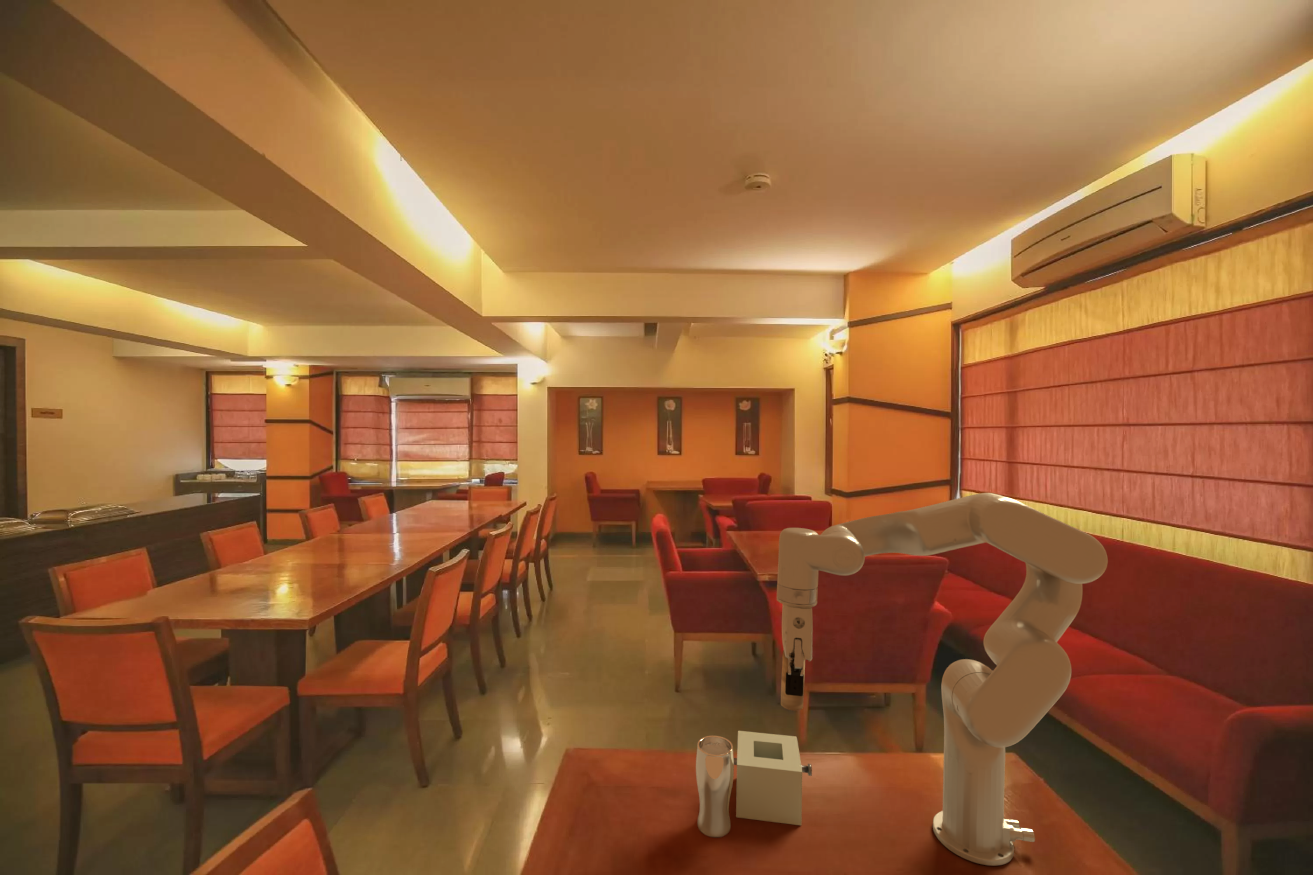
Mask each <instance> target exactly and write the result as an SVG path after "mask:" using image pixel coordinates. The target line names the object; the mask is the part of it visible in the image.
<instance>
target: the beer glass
mask: <svg viewBox="0 0 1313 875" xmlns="http://www.w3.org/2000/svg"><path fill="white" fill-rule="evenodd" d="M696 745H697V746H696V747H697V749H696V756H695V757H696V758H695V776H696V778H695V779H696V784H697V791H698V798H699V813H698V816H697V823H696V824H697V827H698V830H699V831H700V832H701V833H702V834H704V835H705V836H707V837H710V838H722V837H724V836H727V835H728V833H729V832H730V831H731V819H730V813H729V811H730V810H729V806H730V799H731V795H732V794H731V793H732V790H733V789H732V788H733V784H734V783H733V782H734V776H735V775H734V774H735V772H734V769H735V765H734V759H733V758H734V746H733V745H734V744H733V743H732V742H731V741H730V740H729V739H728V738H727V737H724V736H720V735H707V736H703V737H701V738H700V739H699V740H698V741H697V744H696Z"/></svg>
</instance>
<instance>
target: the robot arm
mask: <svg viewBox="0 0 1313 875" xmlns="http://www.w3.org/2000/svg"><path fill="white" fill-rule="evenodd" d="M778 538H779V539H778V560H777V561H778V562H777V563H778V564H777V584H776V601H777V602H778V603H780V604H782V605H781V606H782V609H781V610H782V611H781V612H782V613H781V641H782V643H781V644H782V648H783V650H784V653H785V657H786V658H788V672H786V685H785V693H786V694H787V695H793V696H803V684H804V685H805V675H804V674H803V664H804V655H805V661H807V660H808V662H811V661H812V660H813V631H814V630H813V628H814V626H813V607H815V606H817V604H818V587H819V586H818V585H819V571H821V572H825V573H829V574H831V575H832V574H833V575H837V576H851V575H854V574H856V573H857V572H859V571H860V570H861V569H862V568H863V565H864V564H865V558H866V557H868V556H873V555H879V554H880V555H881V554H889V553H890V554H892V553H894V554H895V553H897V554H898V553H899V554H905V555H910V556H919V557H922V556H924V557H925V556H932V555H936V554H941V553H945V552H949V551H950V552H951V551H955V550H957V549H962V548H967V547H971V546H976V545H980V544H985V543H986V544H989V545H990V546H992V547H995V548H996V549H998V550H1000V551H1002V552H1003V553H1006V554H1008V555H1010V556H1012V557H1013V558H1015V559H1017V560H1019V561H1021V562H1022V563H1023V562H1024V563H1025V571H1026V573H1025V574H1026V575H1025V579H1024V581H1023V584H1022V587H1021V588H1020V590H1019V592H1018V593H1017V594H1016V595H1015V597H1014V598H1013V600H1012V601H1011V602H1010V603H1009V604H1008V605H1007V607H1006V608H1005V609H1004V610H1003V611H1002V613H1000V615H999V616H998V617H997V618H996V620H994V622H993V623H992V624H991V625H990V626H989V628H988V629H987V631H986V632H985V634H984V636H983V647H984V651H985V652H986V654H987V656H988V657H989V658H990V659H991V661H992V662H993V663H994V665H996V667H995V668H994V669H993V670H992V669H991V668H990V667H989V666H988V665H986V664H984V663H982V662H981V661H977V660H976V659H975V660H974V659H968V658H965V659H964V658H963V659H958V660H956V661H953V662H952V663H950V664H949V665H948V667H946V668H945V670H944V673H943V675H942V678H941V686H940V687H941V689H940V690H941V691H940V692H941V700H942V709H943V710H942V711H943V726H944V727H943V779H942V780H943V782H942V810H941V811H939V812H937V813H935V815H934V816H933V818H932V819H933V820H932V828H933V829H932V830H933V833H934V835H935V837H936V838H937V839H938V841H939V842H940V843H941V844H942V845H943V846H944V847H945V848H946V849H948V850H949V851H951V853H953V854H954V855H957V856H959V857H960V858H962V859H965V860H966V861H968V862H972V863H975V864H978V865H979V864H980V865H985V866H990V867H991V866H994V867H995V866H1002V865H1005V864H1008V863H1009V862H1011V861H1012V859H1013V858H1014V855H1015V854H1014V852H1015V851H1014V850H1015V849H1014V843H1015V842H1016V840H1018V841H1019V840H1020V841H1023V842H1031V843H1034V842H1035V841H1036V837H1035V833H1034V831H1033V829H1031V828H1028V827H1020V822H1019V821H1018V820H1017V819H1012V818H1009V819H1008V818H1004V817H1005V814H1004V813H1005V781H1006V780H1005V776H1006V775H1005V774H1006V773H1005V772H1006V771H1005V770H1006V748H1007V747H1011V746H1013V745H1015V744H1017V743H1019V742H1020V741H1022V740H1023V739H1024V738H1025V737H1027V735H1028V734H1030V732H1031V731H1032V730H1033V729H1034V728H1035V727H1036V726H1037V724H1038V723H1040V721H1041V720H1042V719H1043V718H1044V717H1045V715H1047V713H1048V712H1049V711H1050V710H1051V708H1052V707H1053V706H1054V705H1055V704H1056V703H1057V701H1058V700H1059V699H1060V698H1061V697H1062V696H1063V694H1065V692H1066V690H1067V689H1068V686H1069V685H1070V682H1071V678H1072V664H1071V660H1070V658H1069V655H1068V653H1067V652H1066V651H1065V649H1064V648H1063V647H1062V646H1061V645H1060V644H1059V643H1058V642H1059V640H1060V639H1061V638H1062V636H1063V635H1064V633H1065V632H1066V631H1067V629H1068V628H1069V627H1070V625H1071V624H1072V622H1073V621H1074V619H1075V618H1076V617H1077V615H1078V613H1079V611H1080V609H1081V606H1082V601H1083V590H1084V589H1083V584H1089V583H1092V582H1094V581H1096V580H1097V579H1099V578H1100V577H1102V576H1103V574H1104V573H1105V571H1106V570H1107V568H1108V563H1109V560H1108V555H1107V551H1106V549H1105V547H1104V545H1103V544H1102V543H1101V542H1100V541H1099V540H1098V539H1097V538H1096V537H1094V536H1093V535H1091V534H1089V533H1087V532H1085V531H1083V530H1080V529H1078V528H1076V527H1074V526H1072V525H1069V524H1067V523H1065V522H1063V521H1060V520H1058V519H1056V518H1054V517H1052V516H1050V515H1049V514H1048V515H1047V514H1045V513H1043V512H1041V511H1040V510H1037V509H1035V508H1033V507H1032V506H1029V505H1027V504H1025V503H1023V502H1021V501H1018V500H1016V499H1013V498H1011V497H1009V496H1003V495H1001V494H997V493H991V492H981V493H975V494H971V495H967V496H963V497H959V498H954V499H951V500H947V501H943V502H939V503H935V504H931V505H927V506H922V507H919V508H914V509H908V510H903V511H895V512H891V513H886V514H880V515H874V516H868V517H863V518H858V519H854V520H851V521H846V522H842V523H838V524H834V525H831V526H829V527H828V528H826V529H825V530H823V531H822V532H821V533H820V534H818V533H817V531H815V530H813V529H808V528H804V527H802V528H801V527H787V528H783V530H781V531H780V533H779V537H778ZM791 654H794V657H793V656H791ZM791 661H794V664H792V665H791Z"/></svg>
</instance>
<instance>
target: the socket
mask: <svg viewBox="0 0 1313 875" xmlns="http://www.w3.org/2000/svg"><path fill="white" fill-rule="evenodd" d="M736 751H737V752H736V753H737V754H736V758H737V765H736V792H735V793H736V795H735V796H736V802H735V803H736V804H735V806H736V808H735V812H736V813H735V814H736V815H735V817H736V818H739V819H749V820H757V821H764V822H772V823H777V824H780V823H781V824H788V825H795V826H802V824H803V823H802V819H803V818H802V816H803V815H802V814H803V811H802V810H803V805H802V803H803V772H802V767H801V765H802V762H801V755H800V750H799V742H798V738H797V736H794V735H784V734H773V733H765V732H755V731H745V730H738V731H737V750H736Z"/></svg>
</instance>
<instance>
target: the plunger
mask: <svg viewBox="0 0 1313 875" xmlns="http://www.w3.org/2000/svg"><path fill="white" fill-rule="evenodd" d="M801 767H802V774H803V773H804V774H807V776H810V777H811V776H812V774H813V773H812V772H813V767H812V763H807V765H802V764H801Z"/></svg>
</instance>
